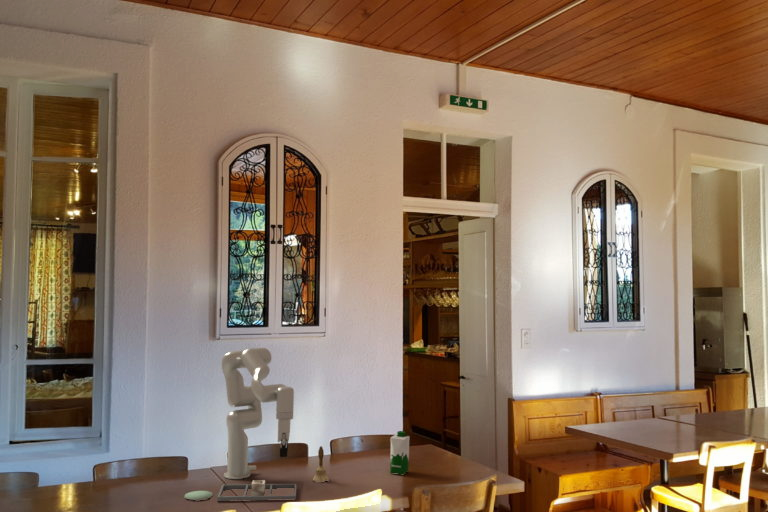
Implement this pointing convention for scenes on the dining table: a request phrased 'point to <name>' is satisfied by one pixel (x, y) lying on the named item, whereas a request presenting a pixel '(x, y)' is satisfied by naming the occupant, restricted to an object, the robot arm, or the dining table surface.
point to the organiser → (244, 497)
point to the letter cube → (258, 488)
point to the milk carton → (399, 453)
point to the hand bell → (320, 468)
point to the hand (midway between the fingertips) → (283, 453)
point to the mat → (198, 495)
